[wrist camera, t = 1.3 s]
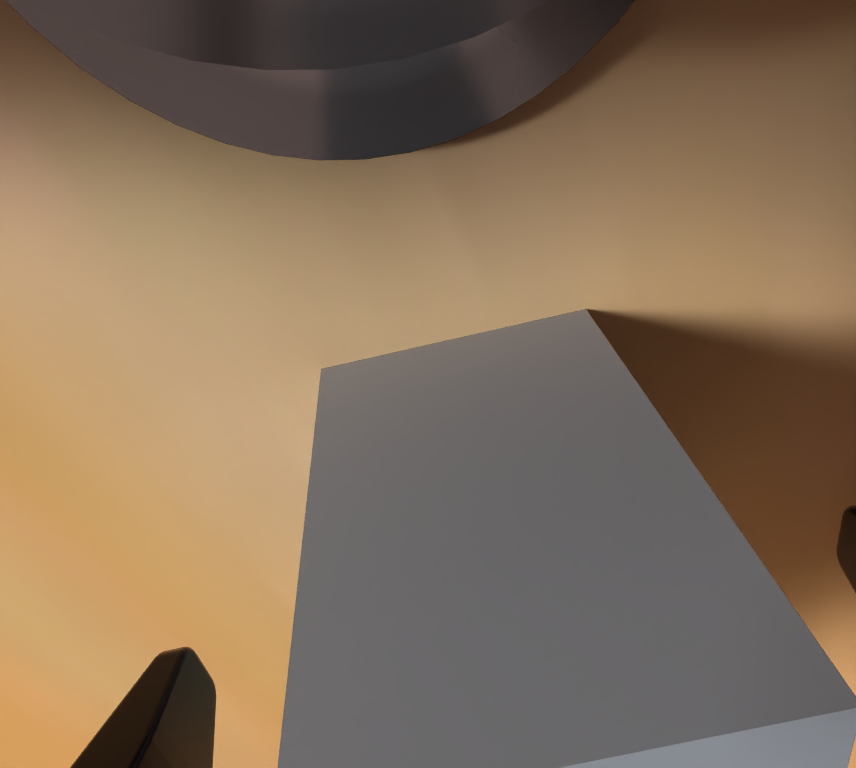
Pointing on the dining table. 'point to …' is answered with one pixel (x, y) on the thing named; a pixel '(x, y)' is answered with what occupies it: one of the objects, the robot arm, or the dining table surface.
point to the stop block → (535, 578)
